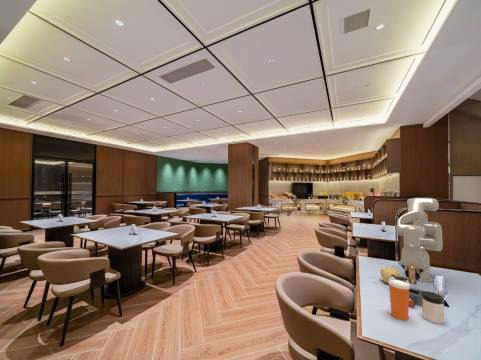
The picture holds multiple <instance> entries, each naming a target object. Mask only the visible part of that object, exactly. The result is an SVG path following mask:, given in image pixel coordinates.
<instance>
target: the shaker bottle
mask: <svg viewBox="0 0 481 360" xmlns="http://www.w3.org/2000/svg"><path fill="white" fill-rule="evenodd" d="M387 284H388V288H389V300H390V301H389V302H390V313H391V316H392V317H394V318H396V319H398V320H400V321H401V320H402V321H408V319H409V308H410V307H409V289H410V287H411V285H410V284H411V283H409V282H408V278H406V276H405V277H404V276H402V277H400V276H395V275H393V274H392V275H391V277H390V279H389V283H387Z"/></svg>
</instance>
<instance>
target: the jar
mask: <svg viewBox="0 0 481 360" xmlns="http://www.w3.org/2000/svg"><path fill="white" fill-rule="evenodd" d="M422 291H423V292H422V306H421V314H422V317H423V319H424V320H427V321H428V322H431V323H434V324H441V325H442V324H445V304H444V297H443V296H442V295H440V294H438V293H436V292H433V291H427V290H422Z"/></svg>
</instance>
